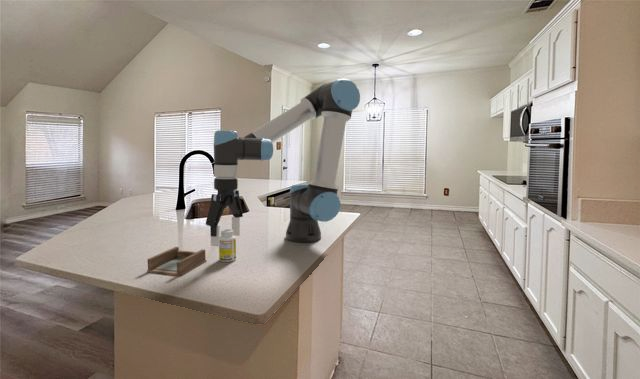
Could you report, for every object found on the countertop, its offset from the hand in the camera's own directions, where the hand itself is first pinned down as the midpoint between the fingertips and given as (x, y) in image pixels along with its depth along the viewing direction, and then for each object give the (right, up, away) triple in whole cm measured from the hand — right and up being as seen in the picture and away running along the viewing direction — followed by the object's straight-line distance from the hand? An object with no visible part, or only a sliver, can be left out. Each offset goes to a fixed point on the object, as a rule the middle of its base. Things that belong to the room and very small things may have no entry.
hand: (226, 240), depth 111 cm
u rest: (-14, -8, -6) cm, 17 cm away
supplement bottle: (0, -7, +1) cm, 7 cm away
